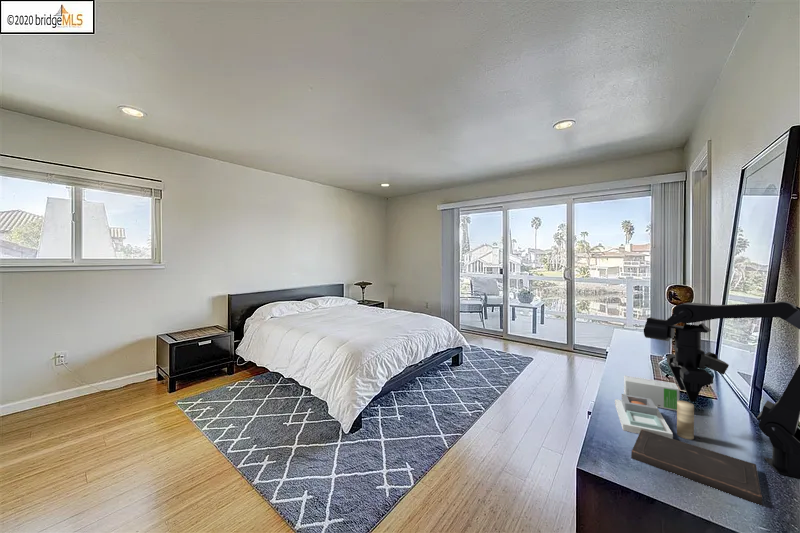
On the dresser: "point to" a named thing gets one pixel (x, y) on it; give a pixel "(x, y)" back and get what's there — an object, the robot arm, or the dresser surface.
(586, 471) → the dresser surface
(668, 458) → the hardcover book
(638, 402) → the button
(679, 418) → the beige cylindrical rod
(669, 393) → the skincare box
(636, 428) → the panel
